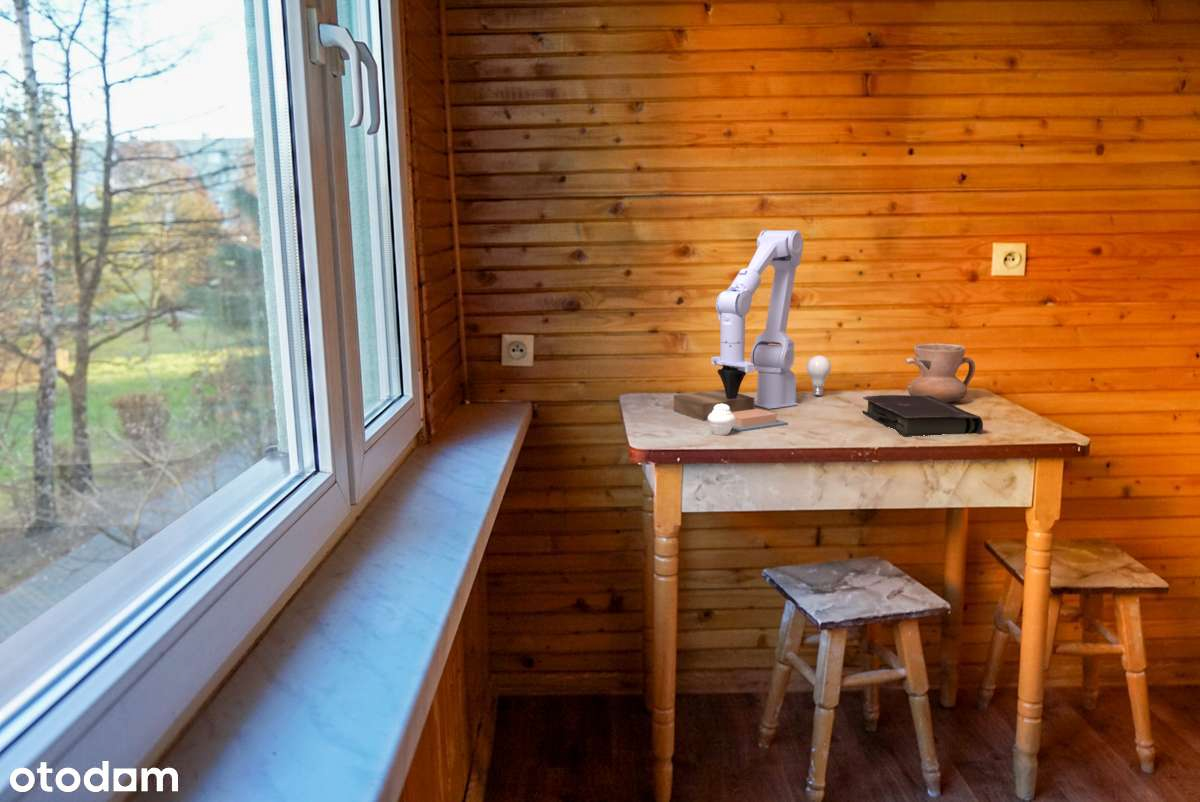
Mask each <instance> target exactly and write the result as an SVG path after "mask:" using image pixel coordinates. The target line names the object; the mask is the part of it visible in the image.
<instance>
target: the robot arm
mask: <svg viewBox="0 0 1200 802" xmlns="http://www.w3.org/2000/svg"><path fill="white" fill-rule="evenodd" d="M803 248H804V239H803V236H802V234H801V233H800V231H799V230H798V229H791V230H781V229H780V230H776V229H775V230H774V229H773V230H770V229H763V230H762V231H760V233H759V234H758V237H757V239H756V251H755V253H754V255H753V257H752V258H751V260H750V262H749V264H748V267H747V268H741V269H740V271H738V274H737V275H736V276H735V278H734V279H733V281H732V283H731V284H730V286H728V288H727V289H726V290H723V291H722V292H721V293H719V294H718V295H717V298H716V303H715V310H716V312H717V316H718V318H717V319H718V322H719V323H720V336H719V337H720V339H719V340H720V341H719V342H720V343H719V344H720V348H719V352H720V355H719V356H717V355H715V356H711V357H710V359H711V361H710V363H711V366H720V367H722V368H719V369H717V374H718V376H719V377H720V379H721V382H722V385H723V388H724V389H723V390H725V393H726V397H727V399H736V398H737V395H738V394H739V391H740V387H741V385H742V382H743V379H745V376H746V375H747V374H748V373H749V374H750V373H754V372H755V371H757V378H756V379H757V381H756V382H757V383H756V384H757V385H756V387H757V388H756V389H757V390H756V399H757V400H754V406H757V407H760V408H764V409H767V410H768V409H769V410H770V409H771V410H772V409H777V408H786V407H791V406H792V407H793V406H794V407H795V406H798V405H799V403H798V402H796V399H797V398H796V397H797V396H796V395H797V378H796V376H795V373H794V372H793V371H792V370H791V368H792V367H793V365H794V362H795V342H794V341H793V340H792V338H791V337H790V336H789V335H788V334H787V327H788V320H789V315H790V308H791V301H792V295H793V291H794V290H793V289H794V283H795V276H796V271H797V267H798V266H800V265H801V259H802V255H803ZM768 266H772V267H773V269H774V274H773V280H772V287H771V293H770V298H769V305H768V312H767V317H766V325H765V329H764V331H763V332H761V333H759V334H758V335H757V336H756V337H755V341H754V343H753V347H751V351H750V361H747V360H746V359H745V349H746V348H745V346H746V344H745V343H746V342H745V341H746V337H745V336H746V316H747V314H748V313H749V312H750V310H751V305H752V301H753V296H754V294H755V293H756V291H757V290H758V288H759V287H760V285H761V283H762V278H761V274H763V272H764V271H765V270H766V269H767V267H768Z"/></svg>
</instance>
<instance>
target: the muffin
mask: <svg viewBox="0 0 1200 802" xmlns="http://www.w3.org/2000/svg"><path fill="white" fill-rule="evenodd" d="M708 421H709V422H708ZM708 421H707V422H708V424H709V427H710V428H711V430H712V432H713V434H714V435H715V434H717V435H716V436H728V435H729V433H730V432H731V431H732V427H733V425H734V422H735V416H734V415H733V414H732V412H731V411H730V407H729V406H728V405H726V404H722V403H721V404H717V405H715V406H714V410H713V411H712V413H710V414H709V416H708Z"/></svg>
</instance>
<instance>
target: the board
mask: <svg viewBox="0 0 1200 802" xmlns="http://www.w3.org/2000/svg"><path fill="white" fill-rule="evenodd" d="M754 401H755V397H754V396H753V397H752V396H749V395H746V394H742V393H738V395H737V398H736V399H727V397H726V393H725V389H716V390H715V389H714V390H708V391H706V390H705V391H698V392H690V393H689V392H688V393H683V394H674V395H673V412H675V413H678V414H680V415H685V416H687V417H691V418H694V419H697V420H700V421H702V422H704V421H706V419H708V416H709V414H710V413H712V411H713V410H714V406H715V405H717V404H721V403H722V404H726V405H728V406H729V407H730V411H731V412H737V411H744V410H752V409H755V405H754Z"/></svg>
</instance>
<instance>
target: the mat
mask: <svg viewBox="0 0 1200 802" xmlns="http://www.w3.org/2000/svg"><path fill="white" fill-rule="evenodd" d="M705 421H706V422H708V423H709V421H708V419H706V420H705ZM786 424H788V425H789V422H786V421H783V420H780V419H777V418H776V422H775V423H768V424H761V425H754V426H747V427H739V426H736V425H733V427H732V429H733V431H735V430H736V431H735V432H744V431H753V430H760V428H761V429H765V428H766V427H767V428H773V427H772V426H774V427H780V426H779V425H781V426H786ZM732 429H731V430H732Z"/></svg>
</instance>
